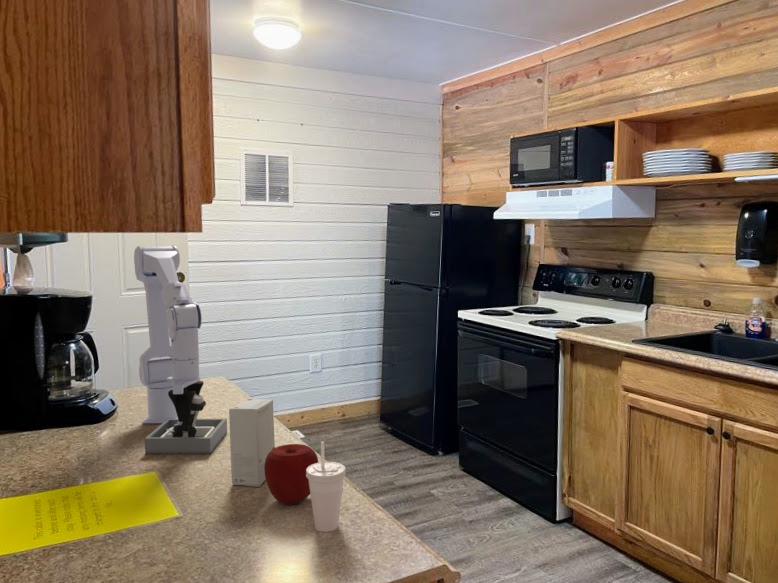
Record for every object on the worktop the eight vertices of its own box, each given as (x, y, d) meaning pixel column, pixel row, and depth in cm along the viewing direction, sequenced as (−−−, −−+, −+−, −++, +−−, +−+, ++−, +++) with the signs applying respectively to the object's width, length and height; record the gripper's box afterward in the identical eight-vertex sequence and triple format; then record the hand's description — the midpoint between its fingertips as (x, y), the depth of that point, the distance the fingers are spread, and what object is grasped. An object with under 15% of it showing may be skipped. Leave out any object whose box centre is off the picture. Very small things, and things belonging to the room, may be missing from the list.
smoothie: (318, 514, 104) (317, 434, 103) (352, 521, 102) (352, 438, 101) (299, 531, 98) (298, 446, 97) (335, 539, 96) (334, 451, 95)
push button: (167, 441, 135) (181, 399, 134) (161, 430, 139) (175, 389, 138) (196, 443, 139) (210, 402, 138) (189, 432, 143) (203, 393, 143)
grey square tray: (168, 433, 147) (167, 418, 146) (227, 433, 147) (226, 418, 146) (145, 454, 133) (144, 438, 132) (210, 454, 133) (210, 438, 133)
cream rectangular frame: (171, 435, 144) (171, 426, 144) (215, 435, 144) (215, 426, 144) (159, 447, 136) (158, 438, 135) (205, 447, 136) (205, 438, 135)
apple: (280, 486, 116) (279, 434, 115) (328, 492, 113) (327, 439, 112) (255, 507, 107) (253, 451, 106) (305, 515, 104) (304, 457, 103)
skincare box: (259, 488, 115) (257, 410, 114) (229, 485, 117) (227, 408, 115) (276, 471, 123) (275, 398, 122) (248, 468, 125) (246, 396, 123)
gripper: (175, 352, 145) (177, 408, 146) (157, 365, 130) (159, 428, 132) (206, 351, 145) (208, 408, 147) (191, 364, 131) (193, 427, 132)
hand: (187, 417), depth 139 cm, fingers closed on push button, 5 cm apart
